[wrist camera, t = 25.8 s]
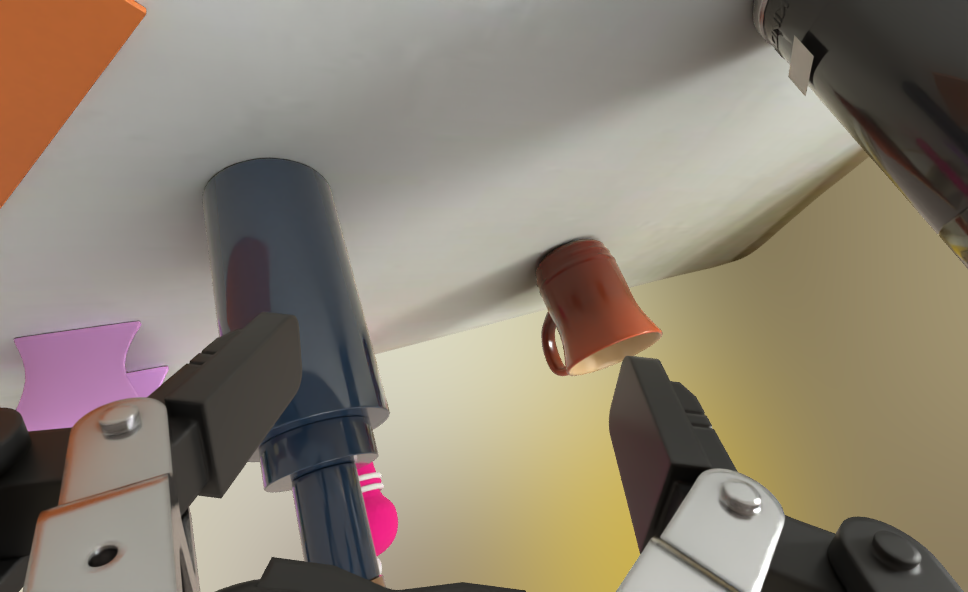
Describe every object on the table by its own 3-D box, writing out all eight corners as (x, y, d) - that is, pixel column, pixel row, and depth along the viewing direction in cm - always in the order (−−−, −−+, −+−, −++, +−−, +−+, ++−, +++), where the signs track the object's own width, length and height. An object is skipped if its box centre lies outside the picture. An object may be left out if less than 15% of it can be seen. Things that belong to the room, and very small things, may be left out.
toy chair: (156, 314, 31) (172, 561, 25) (183, 364, 38) (201, 566, 32) (-14, 337, 27) (-42, 631, 22) (51, 388, 35) (44, 619, 29)
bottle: (252, 137, 22) (348, 644, 14) (355, 189, 27) (467, 576, 19) (175, 213, 24) (219, 681, 16) (284, 247, 29) (357, 611, 22)
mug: (561, 226, 39) (616, 337, 35) (628, 230, 44) (683, 327, 40) (490, 299, 48) (527, 395, 44) (553, 295, 53) (592, 381, 49)
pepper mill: (335, 370, 51) (380, 575, 43) (269, 370, 45) (308, 606, 37) (376, 340, 47) (434, 556, 39) (311, 335, 41) (364, 587, 34)
